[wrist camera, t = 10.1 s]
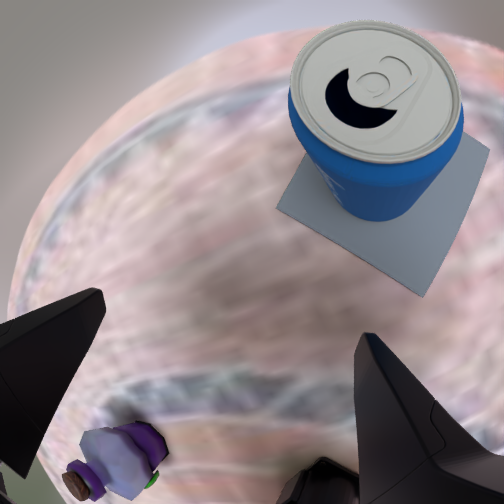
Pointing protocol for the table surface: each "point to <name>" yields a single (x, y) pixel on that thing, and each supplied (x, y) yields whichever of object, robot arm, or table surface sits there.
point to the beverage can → (375, 114)
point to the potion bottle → (116, 461)
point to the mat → (398, 229)
